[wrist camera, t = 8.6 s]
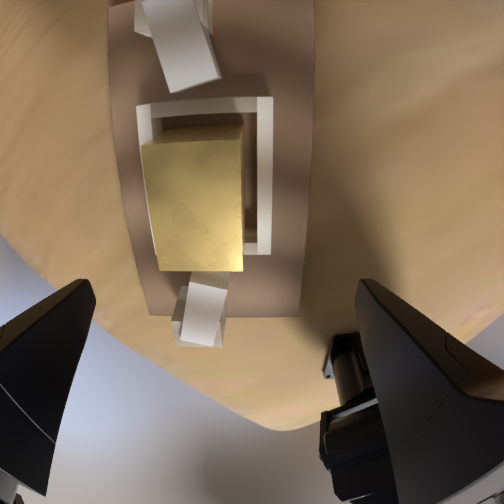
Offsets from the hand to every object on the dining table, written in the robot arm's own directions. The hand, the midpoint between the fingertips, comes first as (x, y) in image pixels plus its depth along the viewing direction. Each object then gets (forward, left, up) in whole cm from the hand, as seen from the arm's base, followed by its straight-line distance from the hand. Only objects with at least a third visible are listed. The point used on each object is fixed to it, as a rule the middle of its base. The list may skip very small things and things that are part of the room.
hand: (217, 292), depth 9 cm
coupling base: (+1, +1, -12) cm, 12 cm away
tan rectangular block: (+1, +1, -10) cm, 10 cm away
